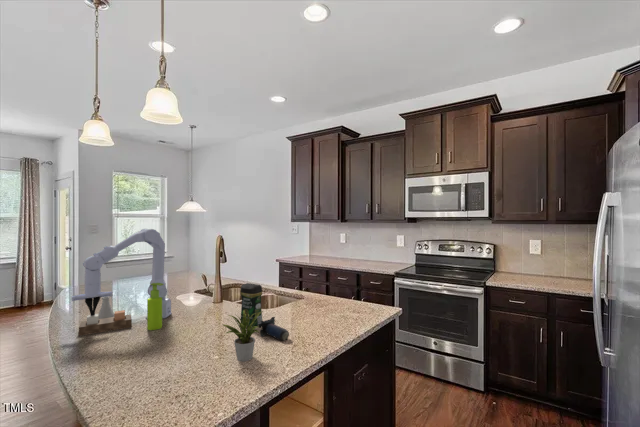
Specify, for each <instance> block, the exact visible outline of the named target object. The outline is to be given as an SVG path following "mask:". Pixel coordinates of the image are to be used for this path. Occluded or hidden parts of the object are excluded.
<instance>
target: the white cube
mask: <svg viewBox="0 0 640 427" xmlns="http://www.w3.org/2000/svg"><path fill="white" fill-rule="evenodd" d="M86 321H87V325H90V324H96V323H99V313H95V315H93V316H91V314H87V316H86Z"/></svg>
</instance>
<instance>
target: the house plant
mask: <svg viewBox="0 0 640 427" xmlns="http://www.w3.org/2000/svg"><path fill="white" fill-rule="evenodd" d="M260 313H261V312H259V313H258V314H257V315H256V316H255V317H254V318H253V320H252V322H251V324H250V325H249V321H250V319H251V317H252V316H253V315H254V314H253V315H252V316H251V317H250V319H249V314H248V318H247V321H246V314H245V311H244V310H243V322H242V320H241V317H239V316H238V315H237V314H235V315H236V316H234V315H231V314H228V316H229V317H231V318H232V319H233V320H234V321H235V322H236V324H237V325H238V326H237V327H238V329H237V328H235V327H233V326H231V325H229V324H225V323H224V324H221V325H222V326H223V327H225V328H226V329H229V330H228V331H226V334H229V333H234V335H236V337H237V338H235V339H234V349H235V354H236V355H235V356H236V359H237V361H238V362H248V361H250V360H252V358H253V356H254V355H253V354H254V350H255V343H256V338H255V337H253V336H252V335H253V334H255V333H258V334H260V330H259V329H258V326H254V325H253V323H254V321H255V320H256V318H257V317H258V315H259V314H260ZM262 313H264V311H262ZM255 314H256V313H255ZM237 317H238V318H237ZM228 321H230V322H232V323H233V321H231V320H230V319H228ZM256 322H257V321H256ZM256 322H255V323H256ZM241 323H242V324H241ZM252 325H253V326H252Z"/></svg>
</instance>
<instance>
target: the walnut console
mask: <svg viewBox="0 0 640 427" xmlns="http://www.w3.org/2000/svg"><path fill="white" fill-rule="evenodd" d="M132 320H133V319H132V314H131V313H130V314H125V319H123V320H116V321H114V317H109V318H102V319H99V323H96V324H90V325H87V320H83V321H80V323H79V326H78V337H80V336H85V335H91V334H98V333H104V332H106V333H107V332H110V331H111V330H112V331H116V330H117V329H118V330H123V329H129V328H130V329H131V328H132V326H133V324H132V323H133V322H132Z"/></svg>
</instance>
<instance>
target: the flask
mask: <svg viewBox="0 0 640 427" xmlns="http://www.w3.org/2000/svg"><path fill="white" fill-rule="evenodd" d="M110 298H111V297H110V296H109V297H101V300H102V303H101V307H100V309H99V312H98V314H99V319H102V318H109V317H114V313H115V311H114V310H113V308H112V306H111V303H110Z"/></svg>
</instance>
